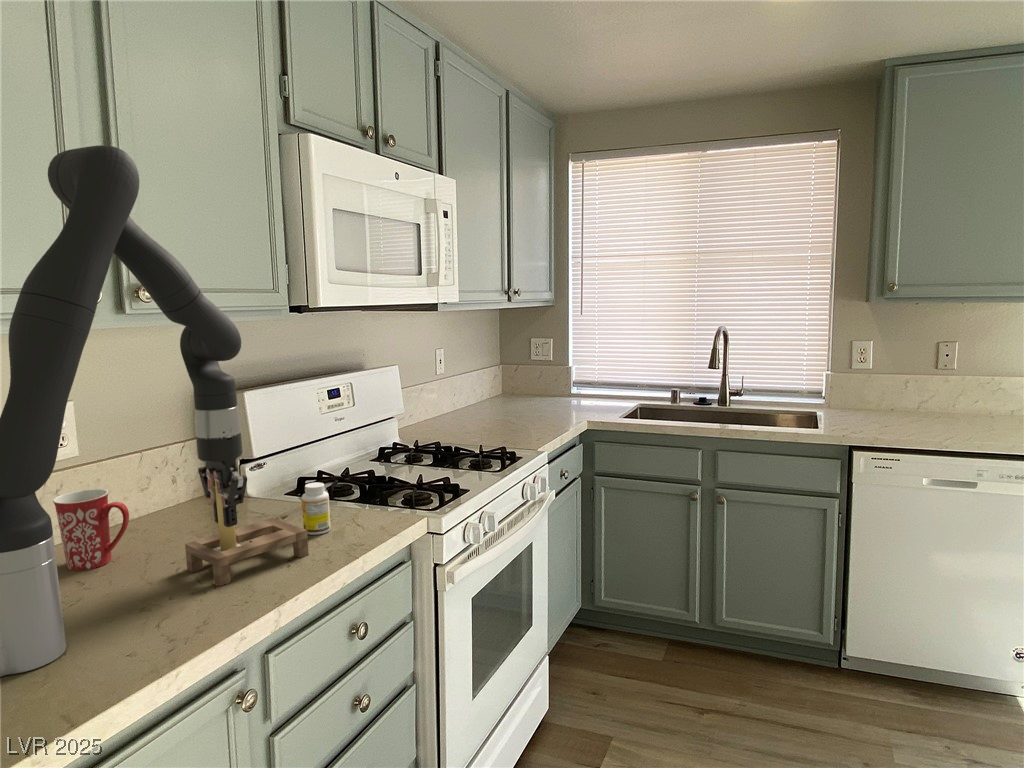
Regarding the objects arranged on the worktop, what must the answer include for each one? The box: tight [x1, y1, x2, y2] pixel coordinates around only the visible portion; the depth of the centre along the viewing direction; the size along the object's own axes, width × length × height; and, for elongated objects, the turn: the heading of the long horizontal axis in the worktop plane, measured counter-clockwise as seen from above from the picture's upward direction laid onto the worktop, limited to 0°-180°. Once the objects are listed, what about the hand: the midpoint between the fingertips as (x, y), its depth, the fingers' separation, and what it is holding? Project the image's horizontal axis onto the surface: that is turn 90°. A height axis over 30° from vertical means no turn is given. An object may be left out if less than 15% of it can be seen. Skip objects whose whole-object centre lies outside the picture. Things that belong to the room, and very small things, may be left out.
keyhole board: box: [184, 517, 309, 587], centre depth 131 cm, size 18×12×5 cm, turn 140°
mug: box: [52, 488, 130, 571], centre depth 132 cm, size 13×9×14 cm
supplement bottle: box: [301, 481, 331, 536], centre depth 147 cm, size 6×6×10 cm
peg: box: [214, 480, 242, 552], centre depth 127 cm, size 5×5×15 cm
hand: (226, 523), depth 127 cm, fingers closed on peg, 2 cm apart
